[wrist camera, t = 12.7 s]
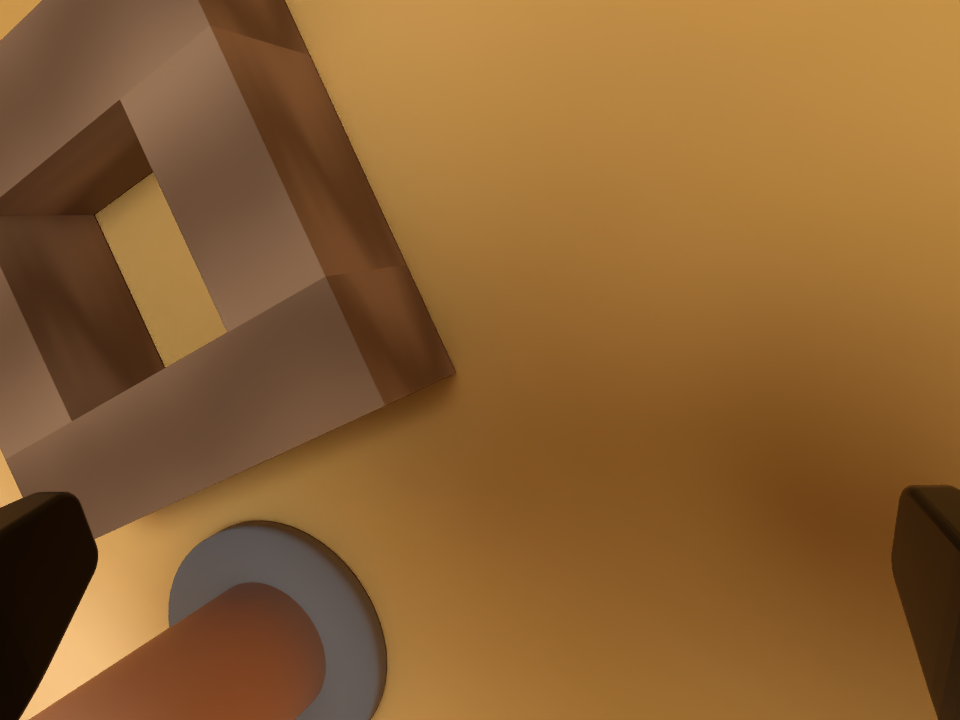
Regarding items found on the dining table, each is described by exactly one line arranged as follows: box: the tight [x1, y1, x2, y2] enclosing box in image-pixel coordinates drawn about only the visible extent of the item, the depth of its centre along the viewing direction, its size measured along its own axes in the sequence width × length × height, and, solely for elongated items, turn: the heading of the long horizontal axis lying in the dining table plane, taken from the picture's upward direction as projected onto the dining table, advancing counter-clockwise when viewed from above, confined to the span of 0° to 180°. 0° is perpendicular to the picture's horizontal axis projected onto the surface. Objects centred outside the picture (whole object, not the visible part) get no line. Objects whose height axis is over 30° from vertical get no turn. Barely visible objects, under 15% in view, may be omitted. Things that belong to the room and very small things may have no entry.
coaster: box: [169, 521, 387, 720], centre depth 26 cm, size 8×8×1 cm
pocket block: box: [0, 0, 456, 539], centre depth 23 cm, size 13×13×4 cm
